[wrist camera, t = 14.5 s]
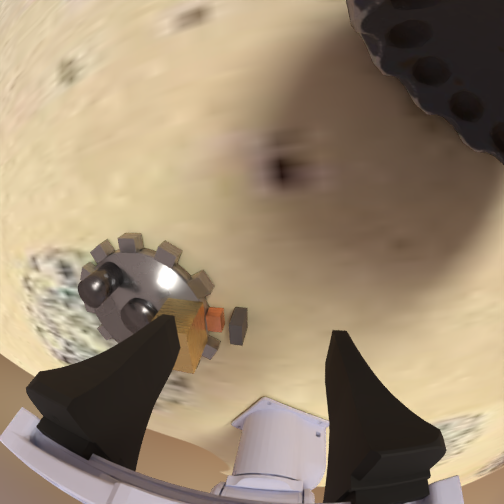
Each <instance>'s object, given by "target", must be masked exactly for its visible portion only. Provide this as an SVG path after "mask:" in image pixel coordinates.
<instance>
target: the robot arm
mask: <svg viewBox="0 0 504 504" xmlns="http://www.w3.org/2000/svg"><path fill="white" fill-rule="evenodd" d="M180 348H181V347H180V343H179V338H178V333H177V328H176V322H175V317H174V316H173V315H166V314H162V315H160V316H159V317H157V318H156V319H154V320H153V321H152V322H150V323H149V324H147V325H146V326H144V327H143V328H142V329H140V330H139V331H137V332H136V333H134V334H133V335H131V336H130V337H128V338H127V339H125V340H123V341H122V342H120V343H119V344H117V345H115V346H114V347H112V348H110V349H108V350H106V351H104V352H102V353H100V354H98V355H96V356H94V357H91V358H89V359H86V360H84V361H81V362H78V363H75V364H72V365H69V366H65V367H62V368H57V369H52V370H46V371H40V372H39V373H38V374H37V375H36V376H35V378H34V379H33V380H32V381H31V382H30V384H29V385H28V386H27V387H26V392H27V394H28V396H29V398H30V399H31V401H32V402H33V404H34V405H35V406H36V407H37V409H38V410H39V411H40V413H41V414H42V415H43V418H42V419H41V420H40V419H39V418H38V417H36V416H35V415H34V414H32V413H31V412H29V411H28V410H26V409H25V408H23V407H22V408H21V409H20V410H19V412H18V413H17V414H16V415H15V417H14V418H13V420H12V421H11V422H10V424H9V425H8V426H7V428H6V429H5V431H4V432H3V433H2V435H1V436H0V441H1V442H2V443H3V444H4V445H5V446H6V447H7V448H8V449H9V450H10V451H12V453H14V454H15V455H16V456H17V457H18V458H19V459H20V460H21V461H23V462H24V463H25V464H26V465H28V466H29V467H30V468H31V469H33V470H34V471H35V472H37V473H38V474H39V475H41V476H42V477H43V478H45V479H46V480H48V481H49V482H51V483H52V484H53V485H55V486H56V487H58V488H59V489H61V490H62V491H64V492H65V493H67V494H69V495H71V496H72V497H74V498H75V499H77V500H79V501H80V502H82V503H84V504H316V503H314V500H315V499H314V493H313V492H312V491H311V490H312V489H313V488H315V487H316V486H317V485H318V484H319V483H320V481H321V479H322V477H323V475H324V472H325V467H326V427H328V426H329V429H330V433H329V454H328V467H327V477H326V486H325V493H324V500H323V503H317V504H464V500H463V495H462V489H461V484H460V479H459V476H458V475H456V476H453V477H450V478H446V479H443V480H439V481H436V482H434V483H431V484H429V485H428V480H427V479H429V478H430V476H431V475H430V468H432V467H433V466H434V465H435V464H436V463H437V462H438V461H439V460H440V459H441V458H442V457H443V456H444V455H445V453H446V447H445V443H444V439H443V436H442V433H441V431H440V429H438V428H436V427H435V426H433V425H431V424H429V423H428V422H426V421H424V420H423V419H421V418H420V417H419V416H417V415H416V414H415V413H413V412H412V411H411V410H409V409H408V408H407V407H406V406H405V405H403V404H402V403H401V402H400V401H399V400H398V399H397V398H395V397H394V396H393V395H392V394H391V393H390V392H389V390H388V389H387V388H386V387H385V386H384V385H383V384H382V383H381V381H380V380H379V379H378V378H377V376H376V375H375V374H374V373H373V371H372V370H371V369H370V367H369V366H368V364H367V363H366V361H365V360H364V358H363V357H362V356H361V354H360V352H359V351H358V349H357V348H356V346H355V344H354V343H353V341H352V339H351V337H350V336H349V334H348V332H347V331H339V330H333V331H332V336H331V340H330V345H329V349H328V354H327V358H326V362H325V385H326V394H327V404H328V414H329V421H328V420H325V419H322V418H319V417H316V416H314V415H311V414H308V413H305V412H303V411H300V410H297V409H295V408H292V407H290V406H287V405H285V404H282V403H280V402H277V401H275V400H273V399H270V398H268V397H262V398H261V399H260V400H259V401H257V402H256V403H255V404H254V405H252V406H251V407H250V408H249V409H248V410H246V411H245V412H244V413H243V414H241V415H240V416H239V417H237V418H236V419H235V420H234V421H232V423H231V425H232V426H234V427H236V428H239V429H241V430H242V434H241V438H240V443H239V447H238V452H237V456H236V460H235V465H234V469H233V473H232V475H228V477H227V480H226V482H220V483H218V484H217V485H215V486H214V487H213V488H212V490H211V492H210V493H207V492H202V491H198V490H194V489H190V488H186V487H182V486H178V485H175V484H171V483H168V482H165V481H161V480H158V479H155V478H152V477H149V476H146V475H143V474H141V473H138V472H135V470H136V465H137V460H138V456H139V452H140V448H141V444H142V440H143V437H144V433H145V430H146V427H147V424H148V421H149V418H150V415H151V413H152V410H153V407H154V405H155V403H156V400H157V398H158V396H159V395H160V393H161V391H162V389H163V387H164V385H165V383H166V381H167V379H168V377H169V375H170V373H171V371H172V369H173V367H174V365H175V363H176V360H177V357H178V354H179V351H180Z"/></svg>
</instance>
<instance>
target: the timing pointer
mask: <svg viewBox="0 0 504 504" xmlns="http://www.w3.org/2000/svg"><path fill="white" fill-rule="evenodd" d="M246 331H247V308H239V307H235V309H234V312H233V315H232V318H231V320H230V323H229V334H230V344H233V345H242V346H243V342H244V338H245V335H246Z"/></svg>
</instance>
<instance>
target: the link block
mask: <svg viewBox="0 0 504 504" xmlns="http://www.w3.org/2000/svg"><path fill="white" fill-rule="evenodd" d="M162 314H166V315H173V316H174V317H175V322H176V328H177V333H178V338H179V343H180V347H181V348H180V351H179V354H178V357H177V360H176V363H175V365H174V367H173V369H172V370H177V371H182V372H187V373H192V374H194V372H195V370H196V367H197V365H198V362H199V360H200V358H201V355H202V353H203V351H204V348H205V346H206V344H207V341H208V338H207V330H206V322H205V313H204V304H203V302H199V301H190V300H181V299H173V298H168V299H167V300H166V302H165V303H164V304H163V306H162V307H161V309H160V310H159V311H158V313H157V314H156V315H155V317H154V318H153V320H154V319H156V318H157V317H159V316H160V315H162ZM153 320H152V321H153ZM152 321H151V322H152Z"/></svg>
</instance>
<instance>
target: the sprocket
mask: <svg viewBox="0 0 504 504" xmlns="http://www.w3.org/2000/svg"><path fill="white" fill-rule="evenodd" d="M118 243H119V248H120V249H119V250H116V251H115V250H114V248H113V247H112V245H111V244H110V242H109V241H108V239H107V240H105V241H104V242H102V243H101V244H99V245H98V246H97V247H96V248H95V249H93V250H92V251H91V252H90V253H91V255H92V256H93V258H94V259H95V261H96V262H97V264H98V263H99V262H100V261H101V262H100V263H99V264H98V265H97V266H95V265H94V264H92V263H91V262H89V263H87V264H86V265H85V266H83V267H82V272H81V279H80V280H81V282H80V283H79V285H78V292H79V295H80V297H81V299H82V300H83V301H84V304H85V307H86V310H87V311H88V312H93V313H96V314H97V316H98V318H99V320H100V322H101V323H102V324H101V325H100V326H99V327H98V328H97V329H98V330H99V332H100V333H101V334H102V335H103V336H104V338H105V339H106V340H108V339H111V338H114V339H115V340H116V341H117V342H118V343H120V342H122V341H123V340H125V339H127V338H128V337H130V336H131V335H133V334H134V333H136V332H137V331H139V330H140V329H142V328H143V327H144V326H146V325H147V324H149V323H150V322H151V321H152V320H153V318H154V317H155V315H156V314H157V313H158V311H159V310H160V309H161V307H162V306H163V304H164V303H165V302H166V300H167V299H168V298H173V299H181V300H190V301H199V302H203V304H204V313H205V322H206V330H207V338H208V341H207V344H206V346H205V348H204V351H203V353H202V356H204V357H206V358H208V359H210V360H211V358H212V357H213V356H214V354H215V353H216V351H217V350H218V347H219V345H220V342H221V341H219V340H217V339H216V338H214V337H212V336H210V335H209V336H208V334H209V331H213V332H222V330H223V328H224V325H225V318H224V308H213V307H209V306H208V303H207V300H206V298H205V296H207V295H209V294H211V292H212V290H213V288H214V284H213V283H212V281H211V280H210V279H209V277H208V276H207V274H206V273H205V271H204V270H202V271H200V272H198V273H196V274H194V275H192V276H191V275H190V274H189V273H188V272H187V271H186V270H185V269H184V268H182V267H181V266H180V265H179V264H178V263H177V262H178V260H179V257H180V255H181V253H182V250H181V249H179V248H177V247H175V246H174V245H172V244H170V243H169V242H167V241H164V242H163V243H162V244H161V245H159V246H158V249H157V251H154V250H151V249H147V248H143V241H142V235H141V233H125V234H123V235H122V236H120V237H119V238H118ZM113 251H114V252H113ZM112 252H113V253H112ZM199 362H200V360H199ZM199 362H198V365H199ZM198 365H197V367H198ZM197 367H196V369H197Z"/></svg>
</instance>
